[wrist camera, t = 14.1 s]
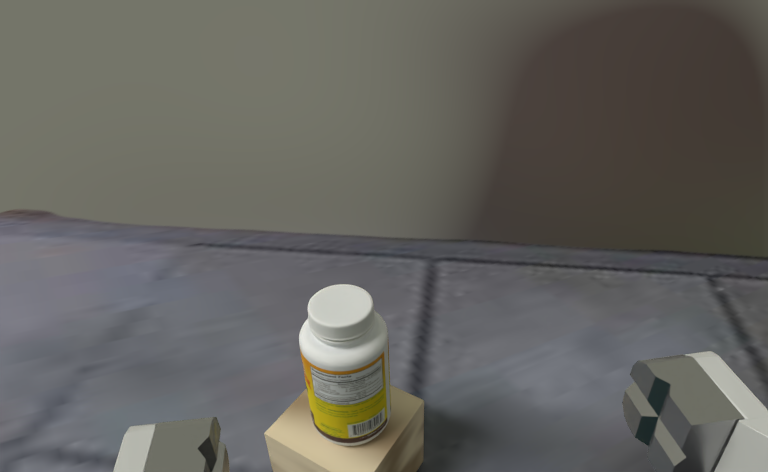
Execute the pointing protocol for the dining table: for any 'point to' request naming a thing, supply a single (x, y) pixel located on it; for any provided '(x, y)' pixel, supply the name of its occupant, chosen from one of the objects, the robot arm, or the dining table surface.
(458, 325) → the dining table surface
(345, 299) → the supplement bottle
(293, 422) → the beech block
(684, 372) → the robot arm
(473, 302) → the dining table surface
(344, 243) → the dining table surface
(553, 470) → the dining table surface
